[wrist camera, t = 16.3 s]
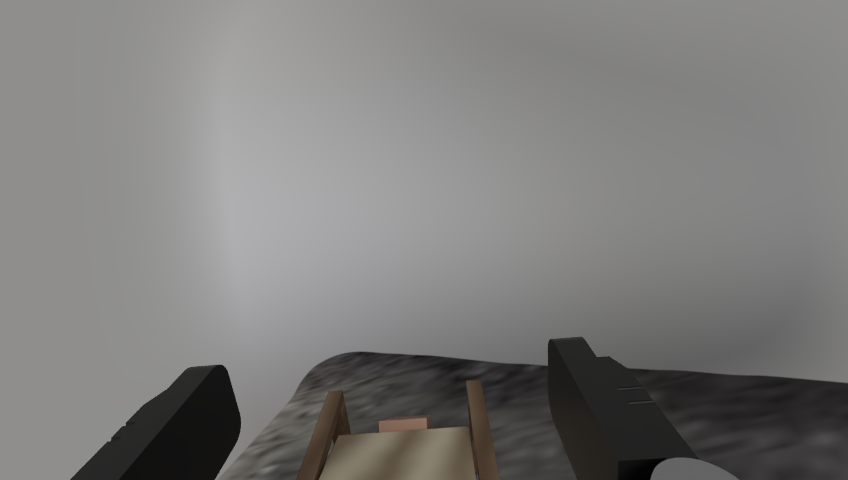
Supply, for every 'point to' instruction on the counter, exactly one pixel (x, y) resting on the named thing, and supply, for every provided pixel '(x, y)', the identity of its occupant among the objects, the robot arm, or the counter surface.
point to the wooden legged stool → (337, 424)
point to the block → (406, 423)
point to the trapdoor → (402, 456)
